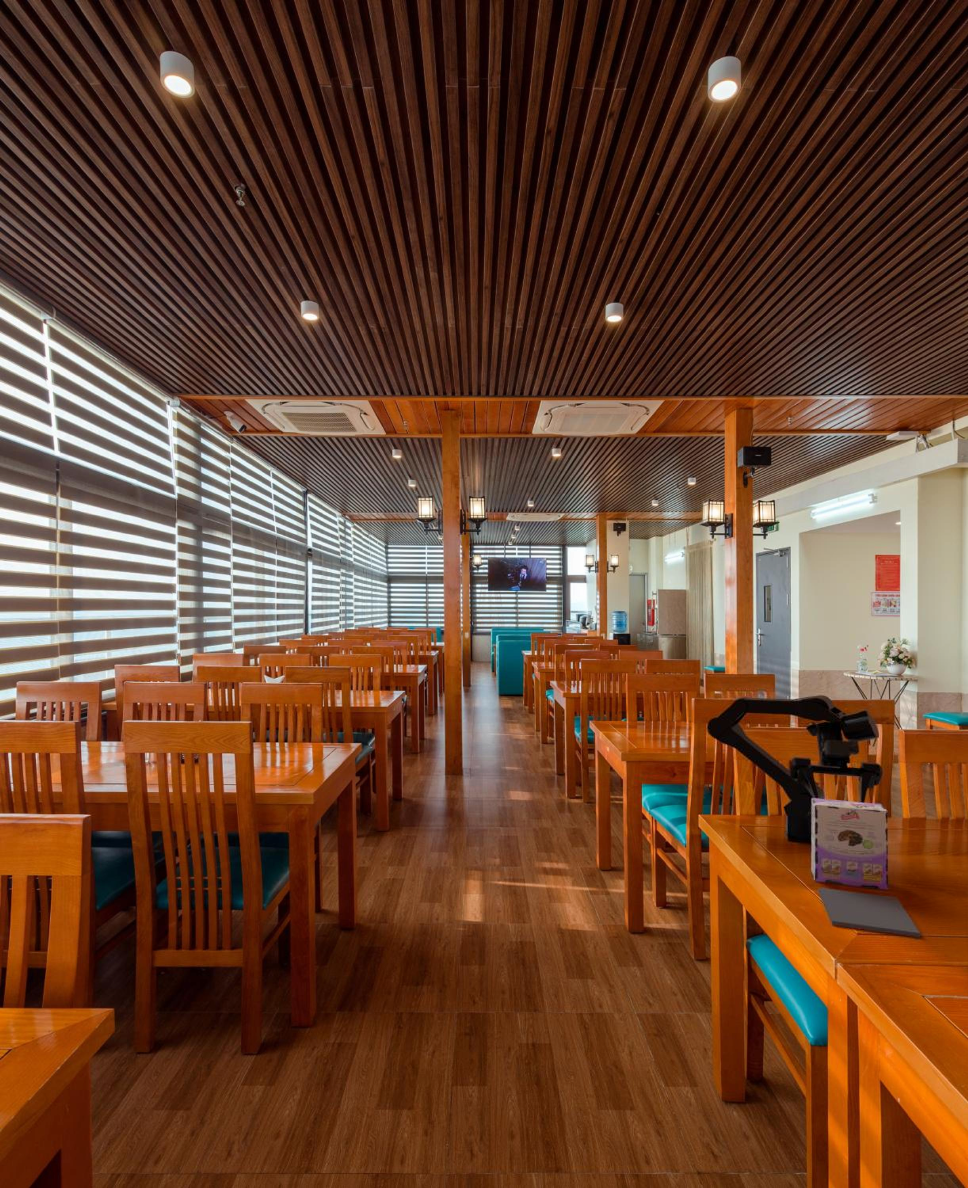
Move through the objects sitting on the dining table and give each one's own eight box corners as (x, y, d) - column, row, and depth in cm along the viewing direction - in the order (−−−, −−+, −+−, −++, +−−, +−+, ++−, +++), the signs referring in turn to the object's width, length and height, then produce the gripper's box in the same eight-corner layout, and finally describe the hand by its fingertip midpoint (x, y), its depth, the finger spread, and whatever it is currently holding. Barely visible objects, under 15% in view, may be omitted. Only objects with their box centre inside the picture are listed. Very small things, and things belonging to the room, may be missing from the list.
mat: (832, 925, 122) (832, 920, 123) (818, 891, 137) (818, 887, 137) (920, 937, 118) (920, 933, 118) (896, 901, 133) (896, 897, 133)
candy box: (882, 880, 143) (882, 802, 143) (888, 891, 137) (889, 811, 137) (810, 871, 147) (810, 796, 147) (814, 881, 142) (814, 803, 142)
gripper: (792, 723, 160) (798, 781, 149) (880, 728, 154) (893, 789, 143) (787, 749, 167) (793, 806, 156) (872, 755, 161) (883, 815, 151)
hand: (839, 803), depth 152 cm, fingers open, 9 cm apart
